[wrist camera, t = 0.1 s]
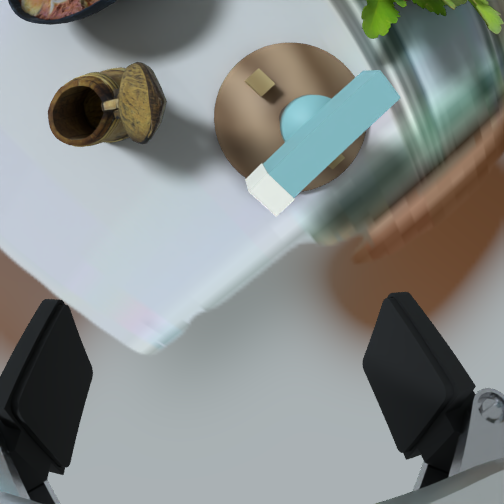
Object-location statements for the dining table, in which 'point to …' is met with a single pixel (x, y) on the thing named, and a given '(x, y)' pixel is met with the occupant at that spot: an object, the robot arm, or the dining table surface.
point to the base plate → (276, 103)
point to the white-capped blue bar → (318, 137)
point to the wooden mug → (108, 107)
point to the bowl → (56, 9)
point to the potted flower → (384, 13)
